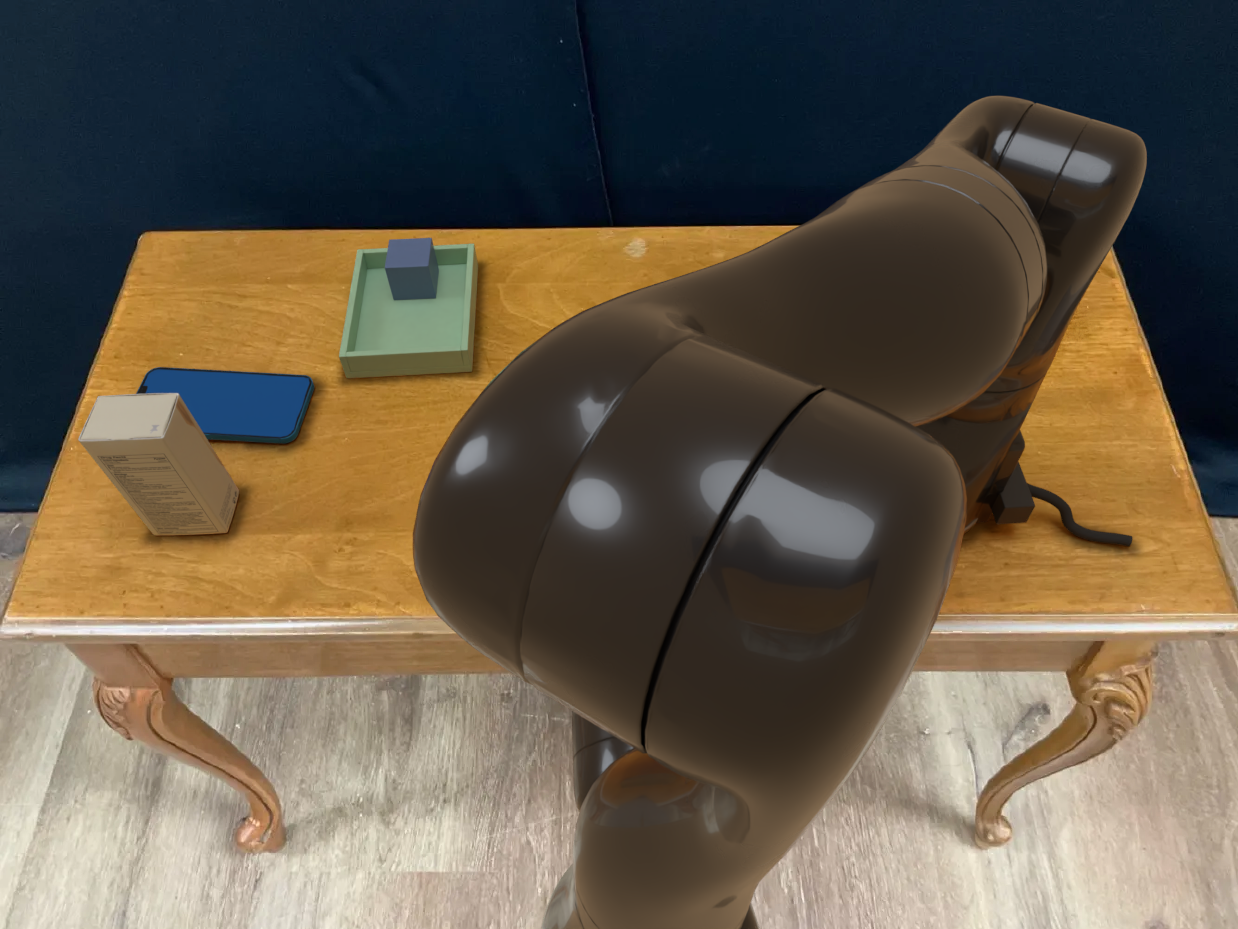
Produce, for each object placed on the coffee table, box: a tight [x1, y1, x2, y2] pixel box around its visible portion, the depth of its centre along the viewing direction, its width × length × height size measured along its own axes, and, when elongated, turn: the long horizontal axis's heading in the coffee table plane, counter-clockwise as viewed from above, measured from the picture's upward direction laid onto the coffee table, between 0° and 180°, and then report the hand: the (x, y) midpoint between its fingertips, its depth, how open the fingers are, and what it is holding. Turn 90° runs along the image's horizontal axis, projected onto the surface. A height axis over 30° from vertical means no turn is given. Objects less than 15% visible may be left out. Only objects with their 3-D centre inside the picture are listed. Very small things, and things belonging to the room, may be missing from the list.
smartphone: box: [135, 366, 315, 445], centre depth 84 cm, size 7×1×15 cm
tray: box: [338, 243, 479, 379], centre depth 89 cm, size 11×14×3 cm
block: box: [385, 237, 439, 300], centre depth 91 cm, size 4×4×4 cm
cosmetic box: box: [77, 393, 240, 536], centre depth 73 cm, size 6×4×12 cm
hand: (616, 415), depth 66 cm, fingers open, 5 cm apart
